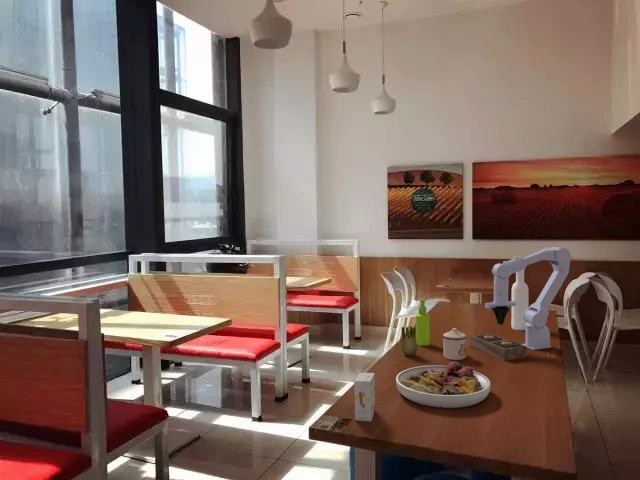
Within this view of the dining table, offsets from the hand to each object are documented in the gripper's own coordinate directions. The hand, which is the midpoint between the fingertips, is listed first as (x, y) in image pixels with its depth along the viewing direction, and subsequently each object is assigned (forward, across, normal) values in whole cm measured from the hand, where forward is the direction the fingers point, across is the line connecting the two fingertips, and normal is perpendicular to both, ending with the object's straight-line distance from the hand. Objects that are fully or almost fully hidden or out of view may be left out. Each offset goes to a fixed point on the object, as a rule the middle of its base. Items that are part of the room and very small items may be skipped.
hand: (500, 324), depth 225 cm
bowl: (+12, +52, +36) cm, 64 cm away
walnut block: (+10, +4, +4) cm, 12 cm away
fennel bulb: (+11, +39, -7) cm, 42 cm away
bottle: (+10, -32, -25) cm, 41 cm away
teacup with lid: (+11, +24, +2) cm, 26 cm away
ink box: (+12, +82, +43) cm, 94 cm away
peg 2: (+10, +4, +10) cm, 15 cm away
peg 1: (+10, +4, -1) cm, 11 cm away
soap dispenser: (+11, +26, -20) cm, 34 cm away
